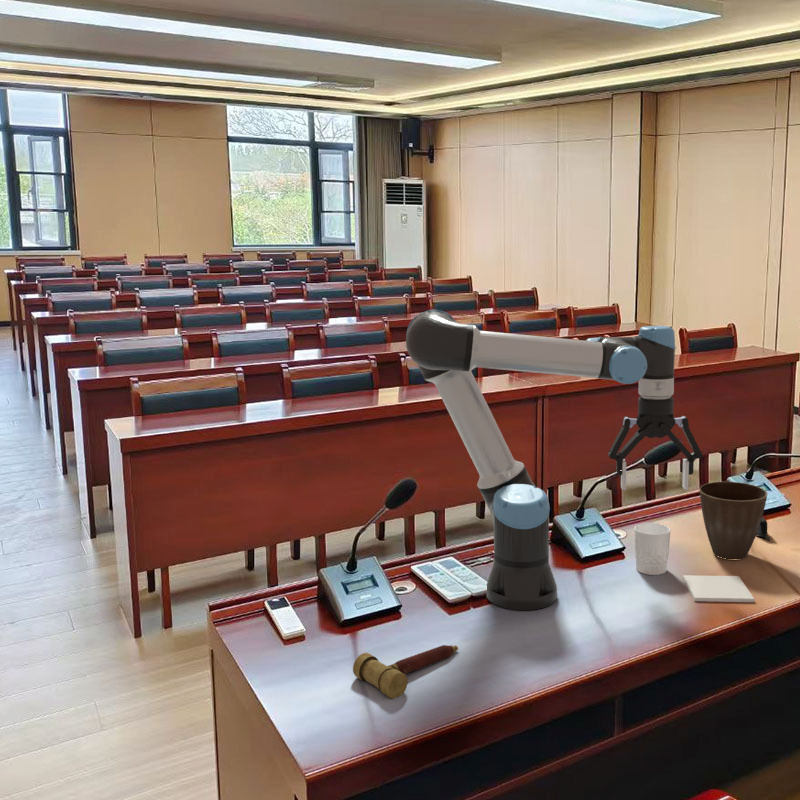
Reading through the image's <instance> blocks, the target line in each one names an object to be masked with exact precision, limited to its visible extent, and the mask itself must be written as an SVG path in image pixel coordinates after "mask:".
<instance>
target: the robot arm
mask: <svg viewBox="0 0 800 800" xmlns="http://www.w3.org/2000/svg"><path fill="white" fill-rule="evenodd" d="M407 326H408V327H407V329H406V336H405V337H406V338H405V339H406V340H405V348H406V351H407V354H408V355H409V358H411V360H412V361H413V362H414V363H415V364H416V365H417V367H418V369H419V371H420V373H421V375H422V377H423V379H424V380H425V381H427V382H428V383H432V384H434V386H435V388H436V390H437V392H438V393H439V396H440V398H441V400H442V402H443V404H444V406H445V408H446V410H447V412H448V414H449V416H450V417H451V420H452V422H453V424H454V426H455V428H456V430H457V432H458V434H459V436H460V438H461V440H462V442H463V444H464V447H465V449H466V450H467V453H468V454H469V457H470V458H471V460H472V463H473V464H474V465H473V466H475V468H476V471H477V473H478V474H479V475H478V476H479V477H478V478H479V479H478V481H477V483H476V485H477V487H478V490H479V492H480V494H481V496H482V498H483V500H484V502H485V503H486V506H487V508H488V510H489V513H490V515H491V516H490V517H491V521H492V525H493V564H492V566H491V570H490V573H489V575H488V576H489V577H488V579H487V583H486V586H487V593H486V592H485V593H486V594H485V595H486V598H487V600H488V601H489V602H490V603H492V604H493V605H495V606H497V607H500V608H504V609H507V610H514V611H515V610H516V611H533V610H534V611H535V610H539V609H545V608H547V607H549V606H551V605H553V604H554V603H555V602H556V601H557V598H558V589H557V583H556V581H555V580H556V579H555V577H554V574H553V570H552V568H551V565H550V557H549V556H550V552H549V551H550V550H549V549H550V547H549V546H550V545H549V543H550V540H549V539H550V538H549V537H550V534H549V533H550V531H549V530H550V528H549V527H550V526H549V525H550V524H549V523H550V521H549V520H550V517H549V516H550V510H551V508H550V502H549V496H548V495H547V493H546V492H545V490H543V489H541V488H540V487H537V486H536V485H535V483H534V482H533V481H532V478H531V477H530V474H529V472H528V470H527V468H526V465H525V464H524V463H523V462H522V461H519V460H516V459H515V458H514V457H513V455H512V452H511V450H510V448H509V446H508V445H507V442H506V440H505V437H504V436H503V433H502V432H501V429H500V428H499V426H498V424H497V421H496V419H495V418H494V415H493V413H492V411H491V409H490V407H489V405H488V403H487V401H486V399H485V397H484V395H483V393H482V390H481V389H480V386H479V384H478V383H477V381H476V377H475V376H474V374H473V372H472V370H474V369H476V368H481V369H483V368H484V369H493V370H503V371H516V372H527V373H536V374H550V375H559V376H560V375H561V376H572V377H580V378H581V377H582V378H583V377H584V378H592V379H593V378H595V379H599V380H600V379H601V380H611V381H615V382H618V383H620V384H625V385H631V384H632V385H633V384H635V383H637V382H638V390H637V391H638V392H637V393H638V395H640V396H639V397H638V399H637V401H638V403H637V406H638V407H637V417H636V418H632V417H631V418H630V417H628V416H624V417H623V419H622V425H621V428H620V429H619V432H618V433H617V436H616V438H615V439H614V441H613V443H612V445H611V447H610V448H609V450H608V452H607V455H608V458H609V459H610V460H614V461H615V464H616V466H615V467H616V468H615V470H616V474H617V475H618V476H620V488H621V490H622V491H626V490H627V461H626V459H625V458H626V457H627V456H629V454H630V453H631V452H632V451H633V449H634V448H635V447H636V446H637V445H638V444H639V443H640V442H641V441H643V439H644V438H645V437H646V438H649V439H654V438H657V439H661V438H662V439H663V438H664V437H666V436H667V437H668V438H669V439H670V440H671V442H672V443H673V444H674V445H675V446H676V447H677V448H678V450H679V451H680V452H681V453H682V454H683V455H684V456H685V458H682V478H681V479H682V480H681V481H682V483H681V487H682V489H683V490H684V491H688V490H689V476H690V475H693V474H694V466H695V465H694V462H695V461H696V460H697V459H702V458H703V457H704V456H703V453H702V451H701V449H700V447H699V445H698V443H697V441H696V439H695V436H694V435H693V433H692V431H691V429H690V423H689V419H688V418H687V417H686V416H685V415H681V416H680V417H674V416H675V415H674V405H675V404H674V403H675V402H674V400H675V399H674V397H672V396H673V395H674V394H675V393H674V392H675V360H676V359H675V355H676V341H675V340H676V338H675V337H676V335H675V330H674V329H673V328H672V327H671V326H668V325H648V326H647V325H645V326H641V327H640V328H639V330H638V331H639V332H638V334H637V335H633V336H606V337H605V336H604V337H602V336H599V337H590V338H587V339H586V340H581V339H574V338H573V339H570V338H560V337H551V336H549V337H548V336H540V335H529V334H528V335H527V334H520V333H519V334H518V333H507V332H497V331H488V330H487V331H486V330H479V328H478V327H477V326H476V325H474V324H468V323H467V324H466V323H461V322H458V321H456V319H454V318H453V316H451V315H450V314H449V313H447V312H446V311H443V310H439V309H428V310H426V311H423V312H420V313H419V314H417V315H415V316H414V318H413V319H411V321H410V322H409V324H408V325H407ZM676 424H677V426H678V427H679V428H681V429H682V431H683V433H684V435H685V437H686V439H687V441H688V443H689V445H690V446H691V450H692V451H693V452H690V451H689V450H688V449H687V448H686V447H685V445H684V444H683V443H682V441H680V439H679V438H678V437H677V436H676V435H675V434H674V433H673V432H672V431H671V430H672V429H673V427H674V426H675V425H676ZM634 425H636V426H637V427H638V428H639V429H637V431H636V432H635V434H634V435H633V436H631V438H630V439H629V440H628V442H626V444H625V445H624V446H623V447H622V448H621V446H622V444H623V442H624V441H625V439H626V436H627V435H628V434H629V431H630V429H631V428H633V427H634ZM620 448H621V450H620ZM619 450H620V451H619ZM620 470H622V471H620Z"/></svg>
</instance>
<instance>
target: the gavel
mask: <svg viewBox="0 0 800 800" xmlns="http://www.w3.org/2000/svg"><path fill="white" fill-rule="evenodd" d="M458 650H459V646H458V645H451V644H449V645H447V644H445V645H444V644H442V645H440V646H437V647H434V648H432V649H428V650H425V651H423V652H419V653H417V654H414V655H411V656H409V657H405V658H403V659H400V660H398V661H396V662H394V663H392V664H389V665H386V664H384V663H382V662H381V661H379V659H378V658H377V657H376V656H374V655H372V654H371V653H369V652H362V653H361V654H360V655H358V656H357V657H356V659H355V660H354V663H353V666H352V672H353V674H354V676H355V677H356V678H357V679H359V680H361V681H363V682H367V683H369V684H371V685H372V686H374V687H375V688H377V689H379V690H380V692H381V693H382V694H383V695H385V696H386V697H387V698H389V699H392V700H393V699H396V698H399V697H400V696H402V695H403V694H404V693H405V692H406V689H407V686H408V677H407V674H409V673H412V672H414V671H417V670H420V669H423V668H426V667H429V666H431V665H434V664H437V663H440V662H443V661H444V660H447V659H449V658H450V657H451V656H452V655H453V654H455V652H456V651H458Z"/></svg>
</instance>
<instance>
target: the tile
mask: <svg viewBox="0 0 800 800" xmlns="http://www.w3.org/2000/svg"><path fill="white" fill-rule="evenodd" d="M682 580H683V582H684V585H686V588H687V589H688V591H689V593H690V595H691V597H692V599H693V601H694V602H714V603H715V602H719V603H720V602H722V603H723V602H724V603H755V598H754V596H753V594H752V593H751V592H750V590H749V589H748V587H747V586H746V584H745V583H744V582H743V580H742V579H741V577H740V576H739V575H688V574H687V575H685V574H683V575H682Z"/></svg>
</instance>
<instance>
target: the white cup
mask: <svg viewBox="0 0 800 800" xmlns="http://www.w3.org/2000/svg"><path fill="white" fill-rule="evenodd" d="M633 529H634V552H635V553H634V554H635V566H636V567H635V569H636V571H638V572H639V573H641V574H645V575H649V576H660V574H661V575H664V574H665V573H667V568H668V560H669V552H670V541H671V540H670V538H671V528H670V527H669V526H668V525H664V524H661V523H655V522H644V523H639V524H636V525H635V526H634V527H633Z"/></svg>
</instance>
